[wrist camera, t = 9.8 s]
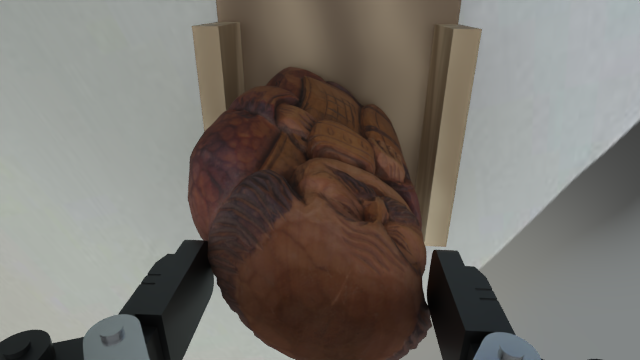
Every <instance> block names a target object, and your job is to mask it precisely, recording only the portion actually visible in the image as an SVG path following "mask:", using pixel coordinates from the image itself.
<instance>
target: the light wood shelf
mask: <svg viewBox="0 0 640 360" xmlns="http://www.w3.org/2000/svg"><path fill="white" fill-rule="evenodd" d="M216 5H217V16H218V22H215V23H209V24H202V25H196V26H192V31H193V39H194V48H195V56H196V65H197V73H198V82H199V90H200V98H201V107H202V115H203V124H204V132H205V130H206V129H207V128H209V127H210V126H211V125H212V124H213V123H214V122H215V121H216V120H217V118H218V117H219V116H220V115H221V114H222V113H223V112H224V111H227V110H228V109H229V107H230V105H231V104H232V102H233V101H234V100H235V99H236V98H237V97H238V96H240V95H241V94H242V93H244V92H246V91H247V90H249V89H251V88H253V87H257V86H265V85H266V84H267V83H268V82H269V80H270V79H272V78H273V77H274V76H275V75H276V74H277V73H278V72H280V71H281V70H283V69H285V68H287V67H295V68H301V69H305V70H308V71H310V72H312V73H314V74H317V75H318V76H320V77H321V78H322V79H323V80H324V81H325V82H326V81H333V82H336V83H338V84H339V85H341V86H343V87H344V88H345V89H346V90H348V91H349V92H350V93H351V94H352V95H353V96H354V97H355V98H356V100H357V101H358V102H359V103H360V104H361V105H363V106H366V105H368V104H375V105H376V106H377V107H379V108H380V109H381V110H382V111H383V112H384V113H385V114H386V115H387V117H388V118H389V119H390V121H391V123H392V126H393V128H394V130H395V132H396V134H397V137H398V140H399V143H400V146H401V149H402V154H403V157H404V160H405V162H406V165H407V168H408V171H409V174H410V178H411V182H412V184H413V185H414V188H415V191H416V194H417V197H418V200H419V205H420V212H421V218H422V230H421V231H422V234H423V241H424V244H425V246H441V247H446V244H447V238H448V232H449V226H450V220H451V214H452V207H453V201H454V195H455V189H456V183H457V177H458V171H459V165H460V159H461V153H462V147H463V141H464V135H465V128H466V122H467V116H468V110H469V104H470V98H471V92H472V86H473V80H474V74H475V68H476V62H477V55H478V49H479V43H480V37H481V31H482V29H478V28H473V27H468V26H463V25H458V20H459V13H460V6H461V0H216Z"/></svg>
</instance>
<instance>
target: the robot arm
mask: <svg viewBox="0 0 640 360" xmlns="http://www.w3.org/2000/svg"><path fill="white" fill-rule="evenodd" d="M207 254H208V241H203V240H184V241H183V243H182V244H181V246H180V247H179V249H178V250H177V252H176V253H175V254H167V255H166V256H164V257H163V258H162V259H160V260H159V261H157V262H156V263H155V264H154V266H153V267H152V268H151V270H150V271H149V272H148V276H146V277H145V278H144V279H143V281H142V282H141V285H139V286H138V288H137V289H136V290H135V292H134V293H133V295H132V296H131V297H130V299H129V300H128V302H127V303H126V304H125V306H124V307H123V308H122V310H121V311H120V313H119V314H118V315H114V316H111V317H108V318H105V319H103V320H101V321H99V322H98V323H96V324H95V325H94V326H92V327H91V328H90V329H89V330H88V331H87V333H86V334H85V336H84V337H82V338H77V339H72V340H67V341H62V342H57V343H52V341H51V338H50V336H49V334H48V333H47V332H45V331H42V330H28V331H24V332H20V333H17V334H15V335H13V336H10V337H8V338H6V339H5V340H3V341H2V342H0V360H182V359H183V357H184V355H185V353H186V351H187V348H188V346H189V344H190V342H191V339H192V337H193V335H194V333H195V331H196V328H197V326H198V324H199V322H200V320H201V317H202V315H203V313H204V311H205V308H206V306H207V304H208V302H209V300H210V297H211V295H212V291H213V286H214V275H213V272H212V269H211V265H210V263H209V260H208V255H207ZM427 302H428V307H429V311H430V315H431V318H432V322H433V326H434V329H435V333H436V337H437V340H438V344H439V348H440V351H441V355H442V358H443V360H543V359H541V358H540V355H539V354H538V352H537V351H536V349H535V348H534V347H533V346H532V345H531V344H529V343H528V342H527V341H525V340H524V339H522V338H520V337H518V336H516V335H515V333H514V331H513V329H512V327H511V325H510V323H509V321H508V319H507V317H506V315H505V313H504V311H503V309H502V307H501V306H500V304H499V302H498V301H497V298H496V296H495V294H494V292H493V291H492V288H491V286H490V284H489V282H488V280H487V278H486V277H485V276H484V275H483V274H482V273H481V272H480V271H479V270H478V269H476V268H475V267H471V266H465V265H464V263H463V261H462V259H461V256H460V254H459V252H458V251H453V250H434V251H433V253H432V259H431V265H430V272H429V279H428V286H427ZM589 360H600V359H589Z"/></svg>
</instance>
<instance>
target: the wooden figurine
mask: <svg viewBox="0 0 640 360" xmlns="http://www.w3.org/2000/svg"><path fill="white" fill-rule="evenodd" d="M188 202H189V206H190V210H191V214H192V218H193V221H194V224H195V226H196V228H197V230H198V232H199V234H200V236H201V238H202V239H203V240H204V241H208V254H207V255H208V260H209V263H210V265H211V269H212V272H213V274H214V275H215V276H216V277H217V285H218V286H219V287H220V289H221V292H222V296H223V298H224V299H225V301H226V302H227V304H228V305H229V306H230V308H231V310H233V311H234V312H236V313H237V314H238V315H239V318H240V320H241V321H242V322H243V323H244V324H245V326H246V327H248V328H249V329H250V330H252V331H253V333H254V335H255V336H256V337H257V338H259V339H260V340H261V341H263V342H264V343H265V344H266V345H268V346H270V347H272V348H274V349H276V350H278V351H279V352H281V353H283V354H285V355H286V356H288V357H290V358H293V359H295V360H399V359H400V358H402V357H403V356H405V355H406V354H408V352H409V350H410V349H415V348H417V345H418V343H419V342H421V340H422V339H424V338H425V337H426V335H427V331H428V329H429V328H431V327H432V324H431V320H430V311H429V307H428V305H427V303H426V302H425V298H424V293H423V288H422V276H423V273H424V271H425V265H426V248H425V244H424V241H423V234H422V231H421V230H422V218H421V212H420V205H419V200H418V197H417V194H416V191H415V188H414V185H413V184H412V182H411V178H410V174H409V171H408V168H407V165H406V162H405V160H404V157H403V154H402V149H401V146H400V143H399V140H398V137H397V134H396V132H395V130H394V128H393V126H392V123H391V121H390V119H389V118H388V117H387V115H386V114H385V113H384V112H383V111H382V110H381V109H380V108H379V107H377V106H376V105H375V104H368V105H366V106H363V105H361V104H360V103H359V102H358V101H357V100H356V98H355V97H354V96H353V95H352V94H351V93H350V92H349V91H348V90H346V89H345V88H344V87H343V86H341V85H339V84H338V83H336V82H333V81H326V82H325V81H324V80H323V79H322V78H321V77H320V76H318V75H317V74H314V73H312V72H310V71H308V70H305V69H301V68H295V67H287V68H285V69H283V70H281V71H280V72H278V73H277V74H276V75H275V76H274V77H273V78H272V79H270V80H269V82H268V83H267V84H266V85H265V86H257V87H253V88H251V89H249V90H247V91H246V92H244V93H242V94H241V95H240V96H238V97H237V98H236V99H235V100H234V101H233V102H232V104H231V105H230V107H229V109H228V110H227V111H224V112H223V113H222V114H221V115H220V116H219V117H218V118H217V120H216V121H215V122H214V123H213V124H212V125H211V126H210V127H209V128H207V129H206V130H205V132H204V133H203V135H202V136H201V138H200V139H199V141H198V143H197V144H196V146H195V147H194V149H193V151H192V154H191V156H190V171H189V185H188Z"/></svg>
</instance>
